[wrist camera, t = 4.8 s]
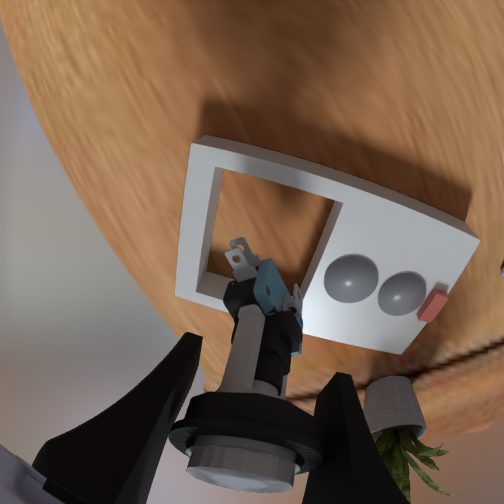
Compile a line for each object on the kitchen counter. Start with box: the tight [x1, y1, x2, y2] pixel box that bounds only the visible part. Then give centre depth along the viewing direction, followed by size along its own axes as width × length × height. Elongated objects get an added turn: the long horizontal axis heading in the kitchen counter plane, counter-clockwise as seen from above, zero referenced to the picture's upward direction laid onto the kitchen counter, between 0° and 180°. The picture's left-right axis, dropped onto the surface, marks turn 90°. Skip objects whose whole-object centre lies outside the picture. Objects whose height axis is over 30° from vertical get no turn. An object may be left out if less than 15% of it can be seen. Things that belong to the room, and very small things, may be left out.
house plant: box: [363, 376, 459, 504], centre depth 20 cm, size 14×14×16 cm
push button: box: [168, 237, 323, 493], centre depth 11 cm, size 7×5×10 cm
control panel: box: [175, 135, 481, 355], centre depth 18 cm, size 18×11×3 cm, turn 77°
